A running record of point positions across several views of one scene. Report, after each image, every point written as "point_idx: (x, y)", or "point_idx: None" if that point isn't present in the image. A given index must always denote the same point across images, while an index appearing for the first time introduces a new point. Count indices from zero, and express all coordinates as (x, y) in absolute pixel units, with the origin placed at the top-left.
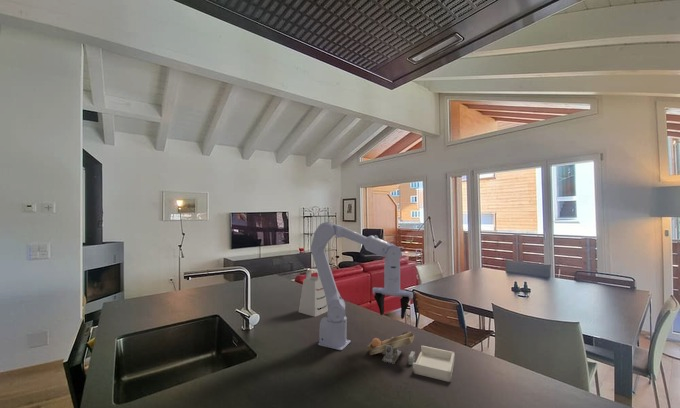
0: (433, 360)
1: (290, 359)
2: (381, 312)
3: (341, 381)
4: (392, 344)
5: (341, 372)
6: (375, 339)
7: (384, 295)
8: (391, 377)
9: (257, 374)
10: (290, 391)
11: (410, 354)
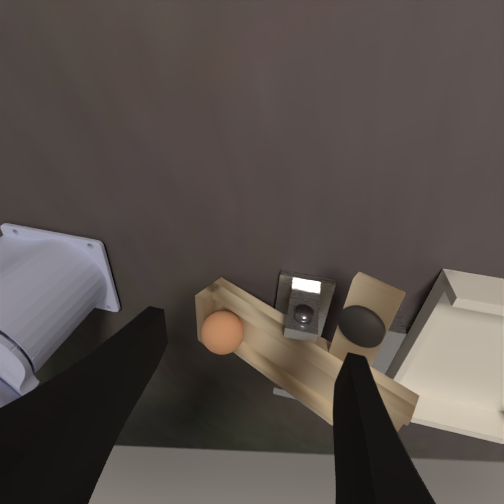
0: (489, 328)
1: (53, 359)
2: (153, 366)
3: (204, 413)
4: (299, 392)
5: (187, 390)
6: (216, 352)
7: (4, 487)
8: None
9: None
10: (142, 431)
11: (379, 355)
